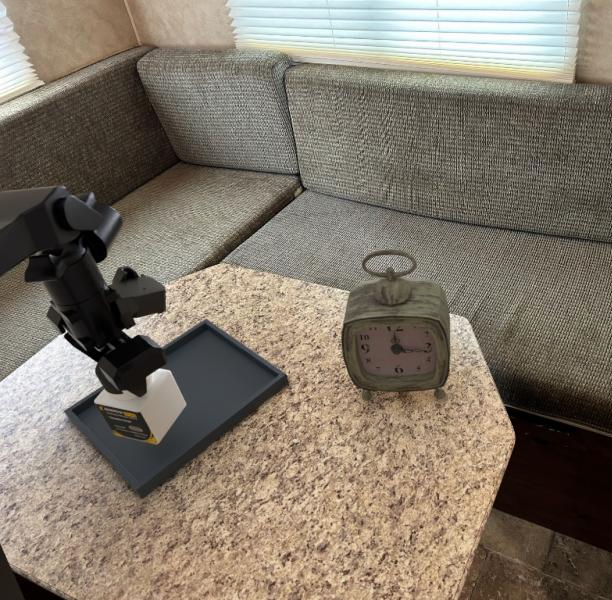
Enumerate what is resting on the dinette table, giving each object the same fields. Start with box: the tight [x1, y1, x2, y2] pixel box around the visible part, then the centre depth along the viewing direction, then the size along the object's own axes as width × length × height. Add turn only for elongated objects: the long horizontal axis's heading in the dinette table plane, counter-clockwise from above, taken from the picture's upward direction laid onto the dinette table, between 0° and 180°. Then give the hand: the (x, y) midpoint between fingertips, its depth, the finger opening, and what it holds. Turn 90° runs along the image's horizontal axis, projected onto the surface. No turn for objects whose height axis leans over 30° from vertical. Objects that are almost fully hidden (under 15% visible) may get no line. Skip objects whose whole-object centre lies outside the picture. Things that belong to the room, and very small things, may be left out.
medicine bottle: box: [94, 350, 186, 444], centre depth 79 cm, size 7×7×12 cm
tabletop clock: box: [340, 249, 451, 401], centre depth 83 cm, size 14×9×25 cm, turn 86°
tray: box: [63, 318, 290, 499], centre depth 92 cm, size 26×22×2 cm
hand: (130, 383), depth 78 cm, fingers closed on medicine bottle, 6 cm apart
